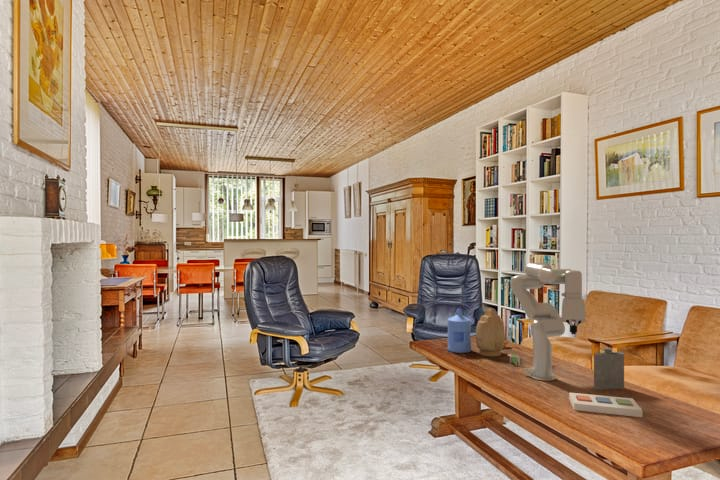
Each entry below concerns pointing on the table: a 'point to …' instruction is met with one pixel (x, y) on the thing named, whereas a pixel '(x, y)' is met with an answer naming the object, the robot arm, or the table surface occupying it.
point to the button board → (605, 405)
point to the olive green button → (624, 402)
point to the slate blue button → (603, 400)
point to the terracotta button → (583, 398)
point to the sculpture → (490, 333)
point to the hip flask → (608, 370)
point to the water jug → (459, 333)
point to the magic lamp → (506, 341)
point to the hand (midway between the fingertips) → (573, 333)
